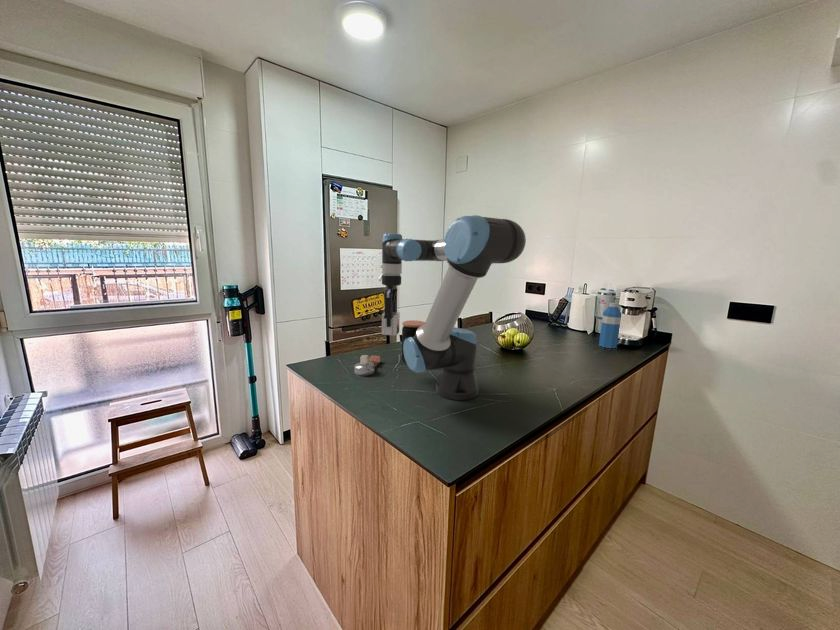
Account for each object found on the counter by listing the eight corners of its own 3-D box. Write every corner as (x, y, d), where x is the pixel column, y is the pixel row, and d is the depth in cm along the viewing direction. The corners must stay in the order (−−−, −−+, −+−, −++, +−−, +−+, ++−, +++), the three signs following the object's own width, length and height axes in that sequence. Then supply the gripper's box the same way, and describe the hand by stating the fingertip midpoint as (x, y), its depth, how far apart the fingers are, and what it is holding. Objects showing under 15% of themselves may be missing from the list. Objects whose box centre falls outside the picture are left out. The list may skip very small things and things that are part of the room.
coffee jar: (429, 360, 153) (430, 322, 150) (416, 366, 144) (417, 326, 141) (410, 356, 159) (410, 319, 156) (396, 361, 150) (397, 323, 147)
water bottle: (601, 348, 181) (607, 303, 176) (595, 344, 190) (601, 301, 185) (620, 350, 180) (626, 304, 175) (613, 345, 189) (619, 302, 184)
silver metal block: (399, 331, 135) (399, 312, 134) (396, 335, 130) (397, 315, 128) (384, 330, 136) (385, 311, 134) (381, 334, 130) (381, 314, 128)
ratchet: (370, 376, 131) (370, 359, 130) (351, 374, 133) (351, 358, 132) (384, 362, 149) (384, 347, 147) (367, 360, 150) (367, 345, 149)
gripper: (387, 272, 138) (386, 326, 142) (376, 276, 119) (375, 338, 124) (404, 273, 137) (403, 327, 142) (397, 277, 118) (395, 339, 123)
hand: (390, 332), depth 133 cm, fingers closed on silver metal block, 6 cm apart
